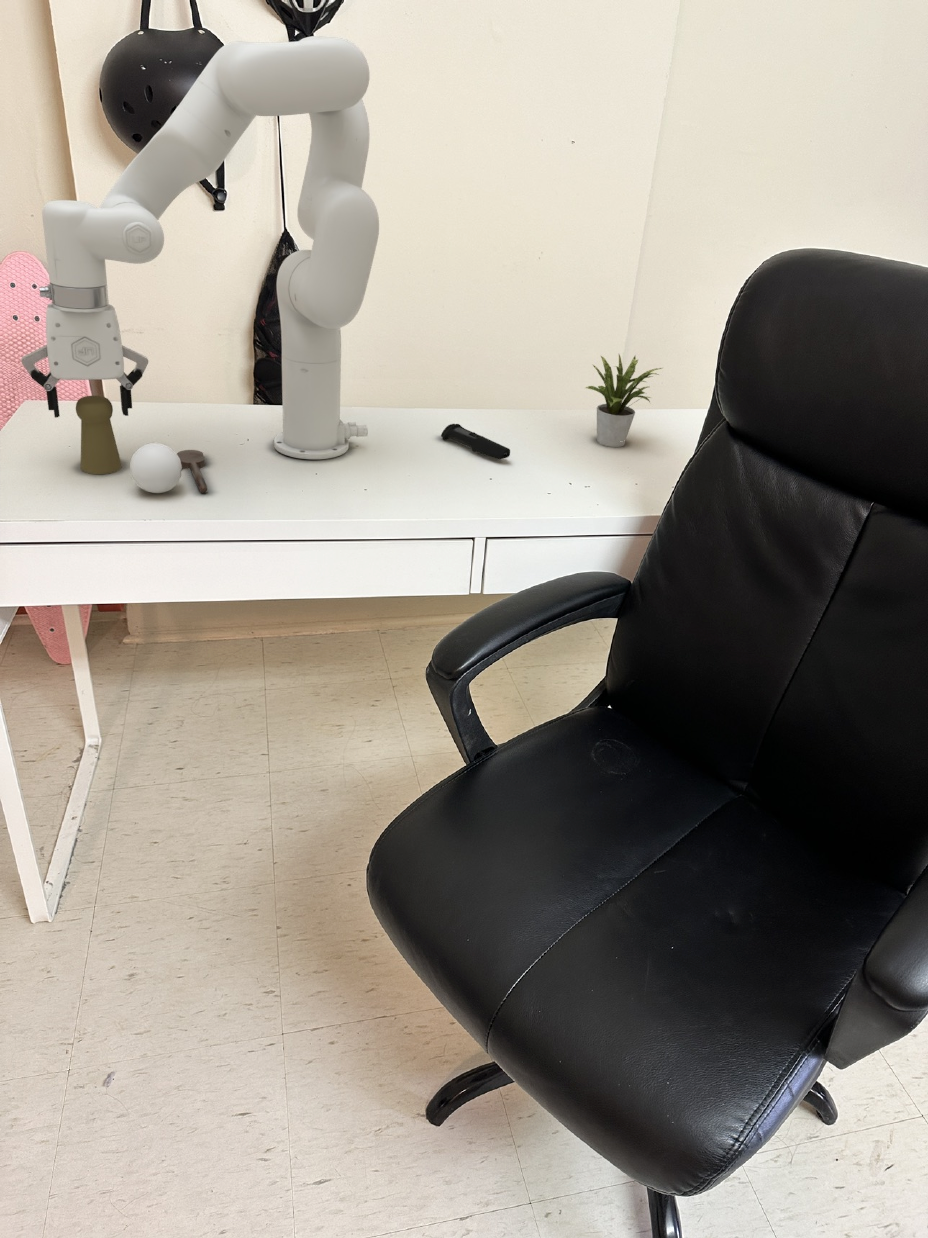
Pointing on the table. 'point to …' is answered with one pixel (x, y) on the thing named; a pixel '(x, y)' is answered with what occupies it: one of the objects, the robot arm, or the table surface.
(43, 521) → the table surface
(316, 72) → the robot arm
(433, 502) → the table surface
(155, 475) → the white ovoid
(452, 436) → the electric trimmer
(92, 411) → the cork
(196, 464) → the wooden spoon
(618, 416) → the house plant
